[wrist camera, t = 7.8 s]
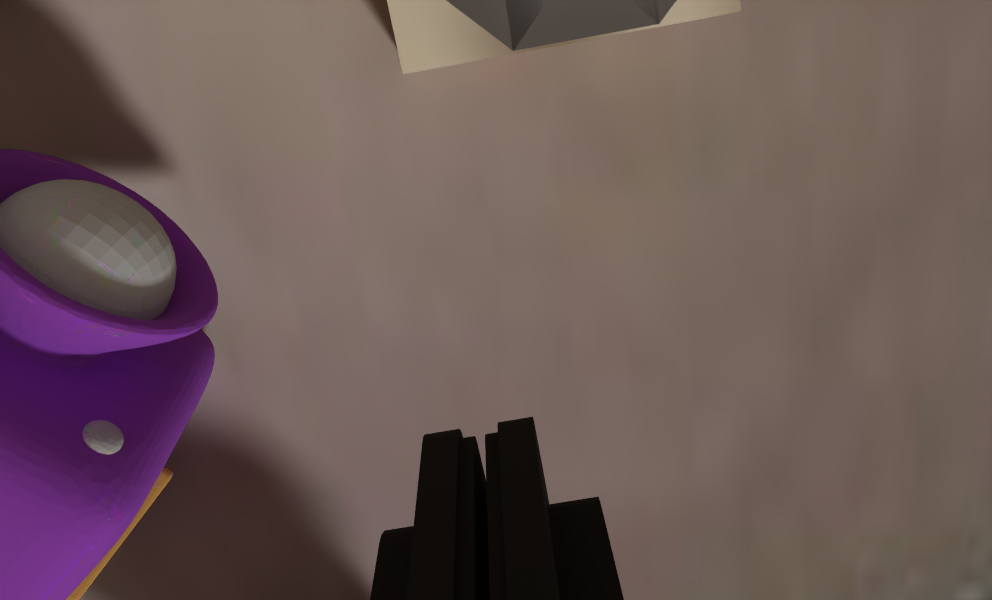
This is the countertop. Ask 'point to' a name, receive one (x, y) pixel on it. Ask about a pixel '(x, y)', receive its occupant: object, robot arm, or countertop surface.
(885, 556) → the countertop surface
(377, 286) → the countertop surface
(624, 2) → the mount
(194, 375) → the toy camera
